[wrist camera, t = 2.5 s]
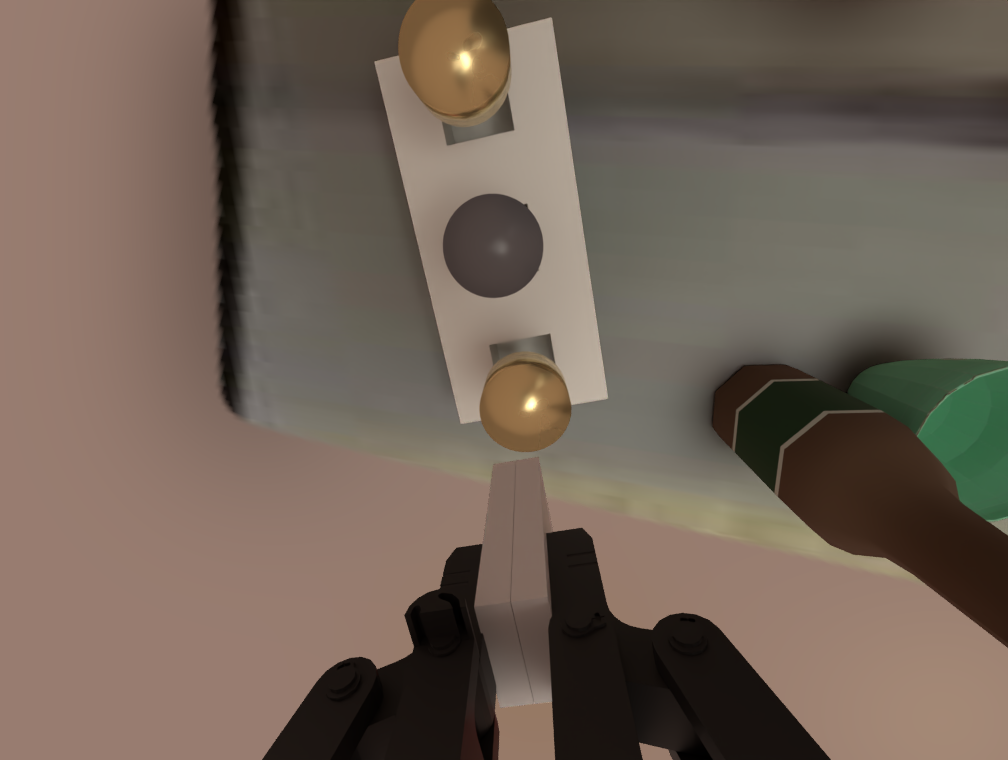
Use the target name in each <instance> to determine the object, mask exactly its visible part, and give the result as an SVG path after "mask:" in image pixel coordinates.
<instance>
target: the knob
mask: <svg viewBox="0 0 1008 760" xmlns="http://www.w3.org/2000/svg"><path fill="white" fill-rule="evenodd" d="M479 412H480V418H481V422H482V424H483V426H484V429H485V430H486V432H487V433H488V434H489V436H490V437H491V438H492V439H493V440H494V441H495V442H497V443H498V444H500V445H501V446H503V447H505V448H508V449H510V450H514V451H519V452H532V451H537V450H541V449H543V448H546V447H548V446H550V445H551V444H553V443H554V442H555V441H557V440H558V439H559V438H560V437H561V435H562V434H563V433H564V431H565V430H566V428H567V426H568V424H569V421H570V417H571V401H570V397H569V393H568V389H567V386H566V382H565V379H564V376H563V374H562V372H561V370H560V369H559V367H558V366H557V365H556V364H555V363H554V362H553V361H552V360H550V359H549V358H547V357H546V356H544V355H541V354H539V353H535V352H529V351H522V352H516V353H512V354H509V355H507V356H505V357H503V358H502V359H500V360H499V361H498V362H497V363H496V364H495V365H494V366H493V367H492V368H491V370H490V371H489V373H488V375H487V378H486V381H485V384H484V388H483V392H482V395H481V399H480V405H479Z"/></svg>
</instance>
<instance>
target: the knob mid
mask: <svg viewBox="0 0 1008 760" xmlns="http://www.w3.org/2000/svg"><path fill="white" fill-rule="evenodd" d="M443 254H444V259H445V262H446V265H447V267H448V270H449V272H450V273H451V275H452V276H453V278H454V279H455V280H456V281H457V282H458V283H459V284H460V285H461V286H462V287H463V288H464V289H466V290H467V291H469V292H471V293H473V294H475V295H478V296H481V297H486V298H501V297H506V296H509V295H512V294H514V293H516V292H518V291H519V290H521V289H522V288H524V287H525V286H526V285H527V284H528V283H529V282H530V281H531V280H532V279H533V277H534V276H535V274H536V273H537V271H538V269H539V266H540V264H541V260H542V256H543V236H542V232H541V229H540V226H539V223H538V222H537V220H536V218H535V216H534V215H533V214H532V212H531V211H530V210H529V209H528V208H527V207H526V206H525V205H524V204H522V203H521V202H519V201H518V200H516V199H514V198H512V197H510V196H506V195H503V194H483V195H479V196H476V197H474V198H471V199H469V200H468V201H466V202H465V203H463V204H462V205H461V206H460V207H459V208H458V209H457V210H456V211H455V212H454V213H453V215H452V216H451V218H450V219H449V221H448V223H447V226H446V229H445V232H444V236H443Z"/></svg>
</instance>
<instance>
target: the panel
mask: <svg viewBox="0 0 1008 760" xmlns="http://www.w3.org/2000/svg"><path fill="white" fill-rule="evenodd" d="M507 32H508V36H509V45H510V57H511V84H510V88H509V91H508V94H507V97H506V99H505V101H504V103H503V104H502V106H501V107H500V109H499V110H498V111H497V112H496V113H495V114H494V115H493V116H492V117H491V118H489V119H488V120H486V121H485V122H482V123H480V124H478V125H474V126H469V127H457V126H452V125H449V124H447V123H444V122H442V121H441V120H439V119H437V118H436V117H435V116H434V115H433V114H432V113H431V112H430V111H429V110H428V109H427V108H426V107H425V105H424V104H423V103H422V101H421V100H420V99H419V98H418V96H417V95H416V94H415V92H414V91H413V90H412V88H411V87H410V86H409V84H408V82H407V80H406V79H405V76H404V74H403V71H402V68H401V64H400V60H399V56H395V57H391V58H387V59H383V60H379V61H375V66H376V71H377V75H378V79H379V83H380V87H381V92H382V96H383V100H384V104H385V108H386V112H387V117H388V121H389V125H390V129H391V133H392V138H393V142H394V146H395V150H396V154H397V159H398V163H399V167H400V171H401V175H402V179H403V184H404V188H405V192H406V196H407V200H408V205H409V209H410V213H411V217H412V221H413V226H414V230H415V234H416V238H417V242H418V246H419V251H420V255H421V259H422V263H423V267H424V272H425V276H426V280H427V284H428V288H429V293H430V297H431V301H432V305H433V309H434V313H435V318H436V322H437V326H438V330H439V334H440V339H441V343H442V347H443V351H444V355H445V359H446V364H447V368H448V372H449V376H450V380H451V385H452V389H453V393H454V397H455V401H456V406H457V410H458V414H459V418H460V422H461V424H463V423H469V422H475V421H481V418H480V412H479V405H480V399H481V395H482V392H483V388H484V384H485V381H486V378H487V375H488V373H489V371H490V370H491V368H492V367H493V366H494V365H495V364H496V363H497V362H498V361H499V360H500V359H502V358H503V357H505V356H507V355H509V354H512V353H516V352H522V351H529V352H535V353H539V354H541V355H544V356H546V357H547V358H549V359H550V360H552V361H553V362H554V363H555V364H556V365H557V366H558V367H559V369H560V370H561V372H562V374H563V376H564V379H565V382H566V386H567V389H568V393H569V397H570V401H571V405H574V404H579V403H585V402H591V401H597V400H603V399H608V395H607V388H606V381H605V375H604V368H603V361H602V354H601V347H600V341H599V334H598V327H597V320H596V314H595V307H594V300H593V293H592V286H591V280H590V273H589V266H588V259H587V253H586V246H585V239H584V232H583V225H582V219H581V212H580V205H579V198H578V192H577V185H576V178H575V171H574V165H573V158H572V151H571V144H570V137H569V131H568V124H567V117H566V110H565V104H564V97H563V90H562V83H561V76H560V70H559V63H558V56H557V49H556V43H555V36H554V29H553V22H552V17H551V18H547V19H543V20H539V21H535V22H531V23H527V24H523V25H519V26H515V27H511V28H507ZM483 194H503V195H506V196H510V197H512V198H514V199H516V200H518V201H519V202H521V203H522V204H524V205H525V206H526V207H527V208H528V209H529V210H530V211H531V212H532V214H533V215H534V216H535V218H536V220H537V222H538V223H539V226H540V229H541V232H542V236H543V256H542V260H541V264H540V266H539V269H538V271H537V273H536V274H535V276H534V277H533V279H532V280H531V281H530V282H529V283H528V284H527V285H526V286H525V287H524V288H522V289H521V290H519V291H518V292H516V293H514V294H512V295H509V296H506V297H501V298H486V297H481V296H478V295H475V294H473V293H471V292H469V291H467V290H466V289H464V288H463V287H462V286H461V285H460V284H459V283H458V282H457V281H456V280H455V279H454V278H453V276H452V275H451V273H450V272H449V270H448V267H447V265H446V262H445V259H444V254H443V236H444V232H445V229H446V226H447V223H448V221H449V219H450V218H451V216H452V215H453V213H454V212H455V211H456V210H457V209H458V208H459V207H460V206H461V205H462V204H463V203H465V202H466V201H468V200H469V199H471V198H474V197H476V196H479V195H483Z"/></svg>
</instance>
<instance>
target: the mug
mask: <svg viewBox="0 0 1008 760" xmlns="http://www.w3.org/2000/svg"><path fill="white" fill-rule="evenodd" d="M847 394H849V395H851V396H853V397H855V398H857V399H859V400H861V401H863V402H865V403H867V404H869V405H871V406H873V407H875V408H877V409H879V410H881V411H883V412H885V413H887V414H888V415H890V416H892V417H893V418H895V419H896V420H898V421H899V422H901V423H903V424H904V425H906V426H907V427H909V428H910V429H911V430H912V432H913V433H914V434H915V435H916V436H917V437H918V438H919V439H920V440H921V441H922V442H923V443H924V444H925V446H926V447H927V448H928V449H929V450H930V451H931V452H932V453H933V454H934V455H935V456H936V457H937V458H938V460H939V461H940V462H941V463H942V464H943V465H944V467H945V468H946V469H947V471H948V472H949V473H950V474H951V476H952V477H953V478H954V480H955V481H956V486H957V490H958V495H959V500H960V501H961V502H962V503H963V504H964V505H965V506H967V507H968V508H969V509H971V510H972V511H974V512H975V513H976V514H978V515H979V516H981V517H982V518H984V519H985V520H986V521H988V522H995V521H999V520H1003V519H1006V518H1008V361H996V360H983V359H923V360H903V361H897V362H890V363H884V364H879V365H875V366H872V367H869V368H868V369H866V370H864V371H863V372H861V373H860V374H859V375H858V376H857V377H856V378H855V379H854V380H853V381H852V383H851V385H850V387H849V389H848V393H847Z"/></svg>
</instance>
